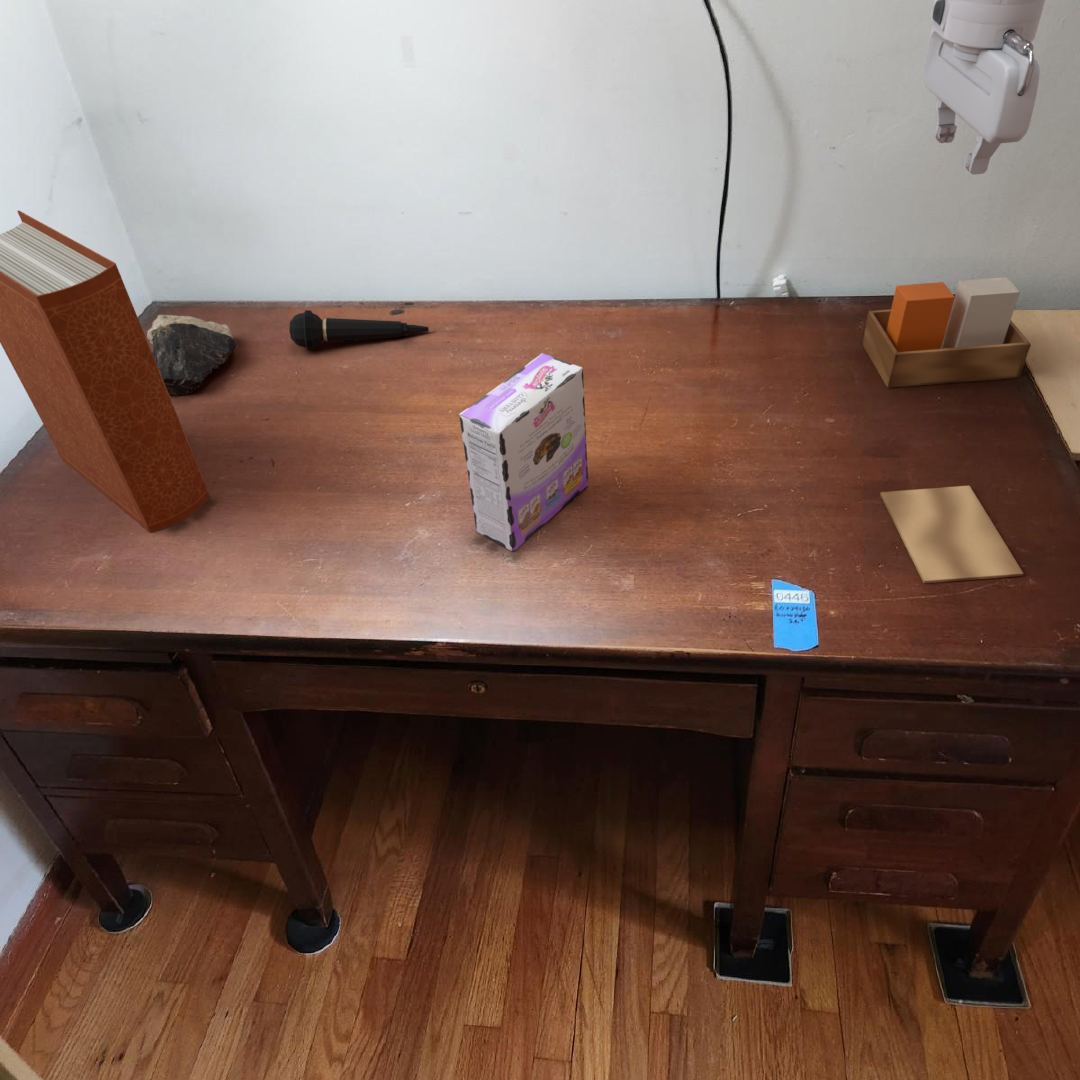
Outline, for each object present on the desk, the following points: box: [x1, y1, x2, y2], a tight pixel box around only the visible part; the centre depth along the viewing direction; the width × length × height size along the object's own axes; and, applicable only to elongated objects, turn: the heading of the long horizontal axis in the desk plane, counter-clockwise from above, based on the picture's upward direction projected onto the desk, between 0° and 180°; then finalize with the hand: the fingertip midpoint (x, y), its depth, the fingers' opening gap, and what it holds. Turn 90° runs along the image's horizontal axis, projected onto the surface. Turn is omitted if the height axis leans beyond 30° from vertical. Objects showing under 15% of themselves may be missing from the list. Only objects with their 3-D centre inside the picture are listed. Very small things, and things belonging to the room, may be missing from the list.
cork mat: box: [879, 485, 1024, 584], centre depth 97 cm, size 10×14×1 cm
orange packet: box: [886, 281, 955, 352], centre depth 118 cm, size 6×4×10 cm, turn 92°
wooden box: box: [861, 308, 1032, 389], centre depth 120 cm, size 17×11×5 cm, turn 92°
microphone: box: [288, 309, 429, 351], centre depth 133 cm, size 6×6×20 cm
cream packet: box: [941, 276, 1020, 349], centre depth 118 cm, size 6×4×10 cm, turn 92°
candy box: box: [458, 352, 589, 552], centre depth 99 cm, size 14×6×16 cm, turn 141°
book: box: [0, 210, 211, 534], centre depth 103 cm, size 23×8×30 cm, turn 47°
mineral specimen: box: [146, 314, 238, 397], centre depth 129 cm, size 13×7×15 cm
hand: (958, 155), depth 103 cm, fingers open, 8 cm apart
